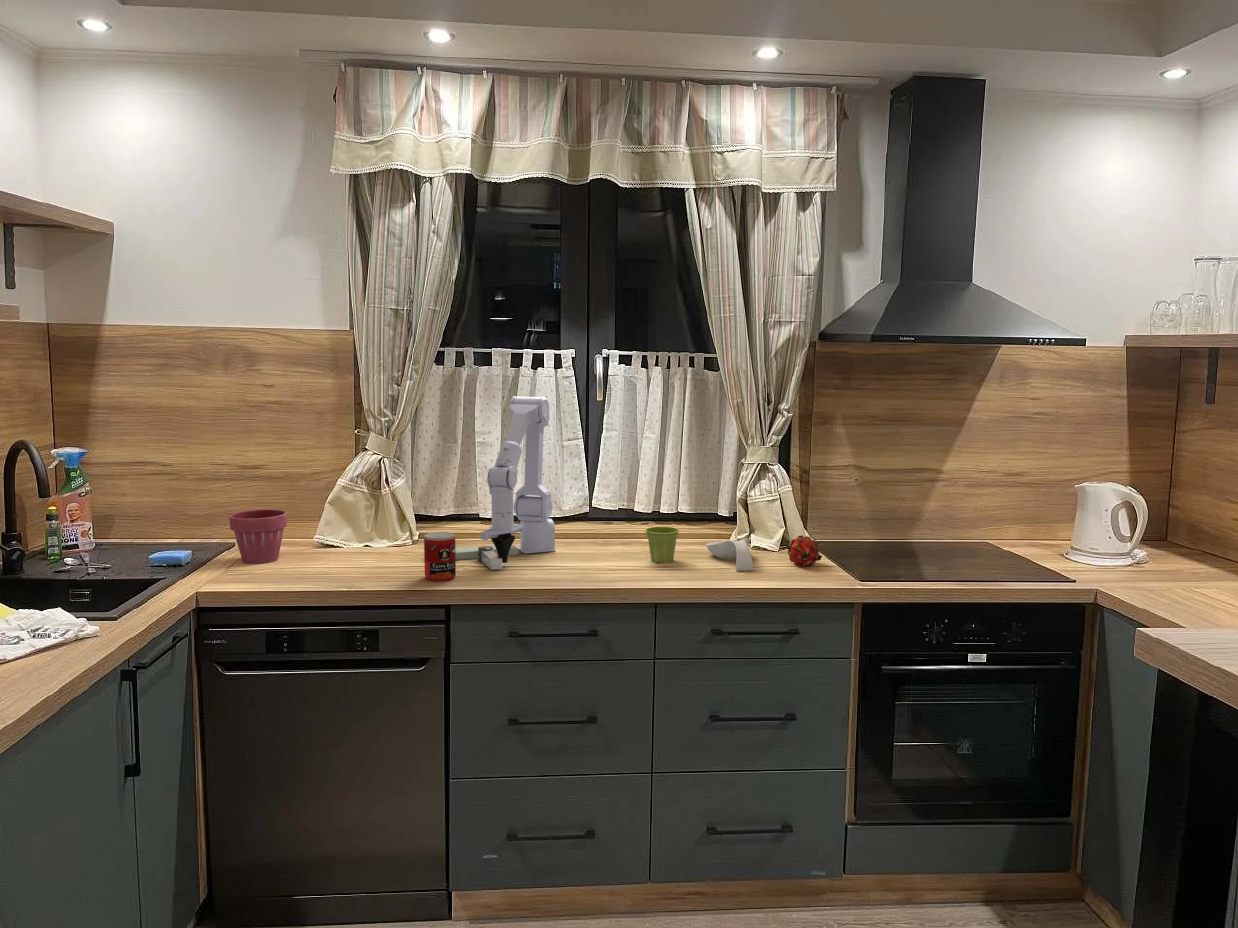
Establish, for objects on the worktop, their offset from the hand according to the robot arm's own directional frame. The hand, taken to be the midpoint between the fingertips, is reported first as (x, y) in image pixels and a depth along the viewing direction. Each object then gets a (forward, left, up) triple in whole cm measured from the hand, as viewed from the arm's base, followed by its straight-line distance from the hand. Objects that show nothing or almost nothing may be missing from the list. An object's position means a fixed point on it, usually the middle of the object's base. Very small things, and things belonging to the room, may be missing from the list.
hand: (503, 562), depth 245 cm
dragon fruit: (-75, +29, -1) cm, 80 cm away
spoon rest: (-60, +18, -1) cm, 62 cm away
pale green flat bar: (+4, -14, -1) cm, 15 cm away
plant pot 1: (+58, -32, -1) cm, 66 cm away
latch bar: (+3, -3, -1) cm, 4 cm away
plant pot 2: (-42, +10, -1) cm, 43 cm away
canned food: (+18, +6, -1) cm, 19 cm away
